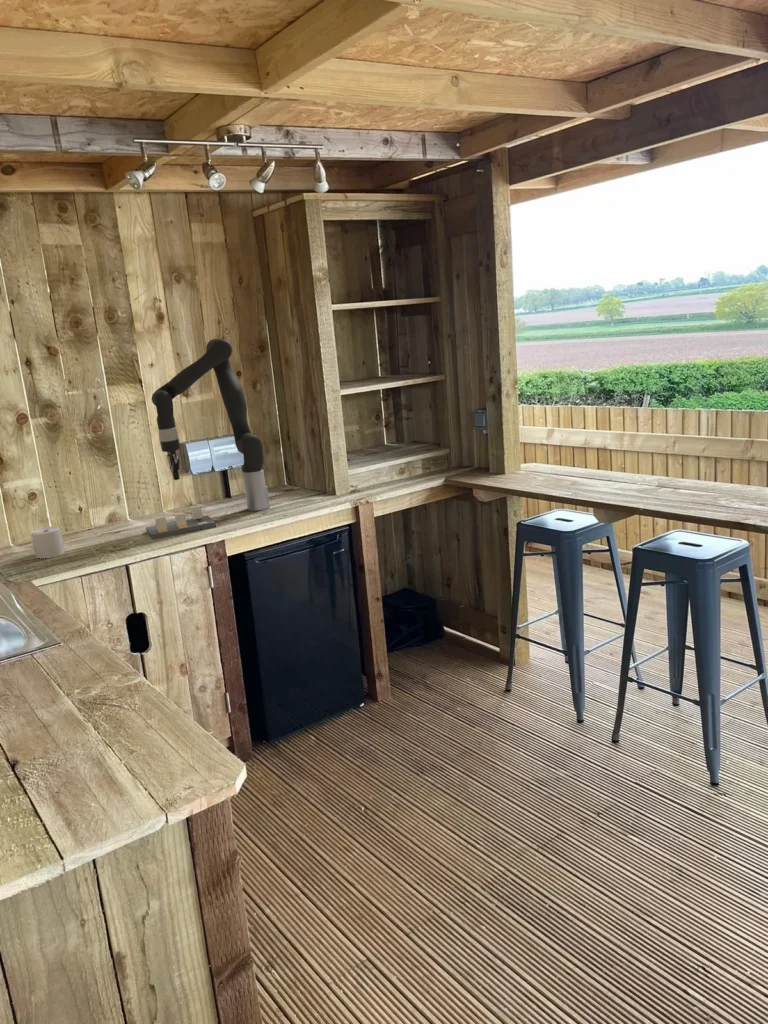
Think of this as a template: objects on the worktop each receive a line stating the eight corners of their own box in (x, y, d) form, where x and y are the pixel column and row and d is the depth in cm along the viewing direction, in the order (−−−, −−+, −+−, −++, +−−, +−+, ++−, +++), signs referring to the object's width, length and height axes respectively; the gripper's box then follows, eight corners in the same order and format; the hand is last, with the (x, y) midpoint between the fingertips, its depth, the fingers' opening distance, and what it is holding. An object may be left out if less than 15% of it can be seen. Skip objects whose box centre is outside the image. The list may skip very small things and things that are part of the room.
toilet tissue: (47, 560, 297) (41, 535, 294) (28, 557, 303) (22, 532, 300) (71, 551, 305) (66, 527, 303) (51, 549, 312) (46, 525, 309)
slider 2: (200, 516, 331) (199, 505, 330) (202, 518, 329) (200, 506, 327) (192, 518, 330) (190, 506, 329) (193, 519, 327) (192, 508, 326)
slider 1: (165, 527, 319) (163, 515, 318) (167, 529, 316) (165, 517, 315) (156, 529, 317) (154, 517, 316) (158, 530, 315) (156, 519, 313)
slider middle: (185, 523, 322) (183, 512, 321) (186, 525, 319) (184, 513, 318) (176, 525, 321) (174, 513, 319) (178, 527, 318) (176, 515, 317)
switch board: (208, 519, 335) (207, 514, 334) (216, 526, 322) (215, 521, 322) (146, 531, 324) (145, 526, 324) (152, 539, 312) (150, 533, 311)
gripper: (181, 439, 317) (189, 480, 322) (174, 435, 329) (182, 475, 334) (163, 442, 314) (171, 484, 319) (156, 438, 326) (164, 478, 331)
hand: (176, 479), depth 326 cm, fingers closed
